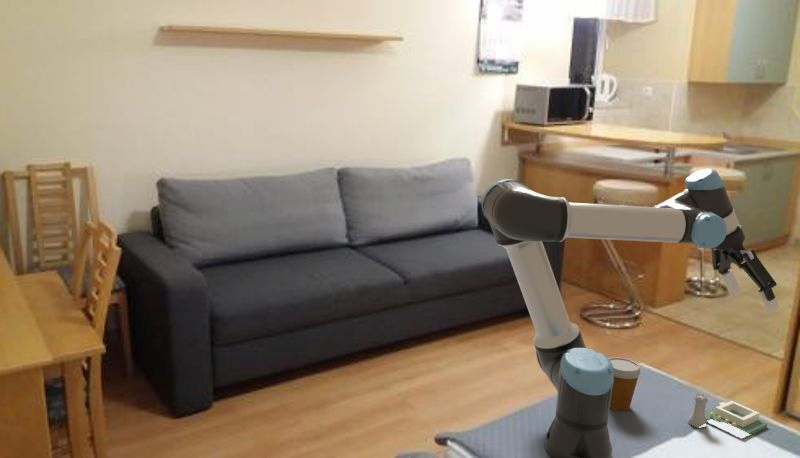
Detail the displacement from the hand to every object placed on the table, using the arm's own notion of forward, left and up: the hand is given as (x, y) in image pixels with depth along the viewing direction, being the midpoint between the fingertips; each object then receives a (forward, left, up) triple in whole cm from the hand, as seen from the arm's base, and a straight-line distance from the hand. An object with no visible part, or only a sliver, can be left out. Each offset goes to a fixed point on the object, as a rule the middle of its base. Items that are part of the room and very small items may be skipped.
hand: (754, 301), depth 161 cm
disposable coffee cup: (-20, +21, -33) cm, 44 cm away
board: (-1, 0, -33) cm, 33 cm away
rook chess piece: (-10, +4, -33) cm, 35 cm away
